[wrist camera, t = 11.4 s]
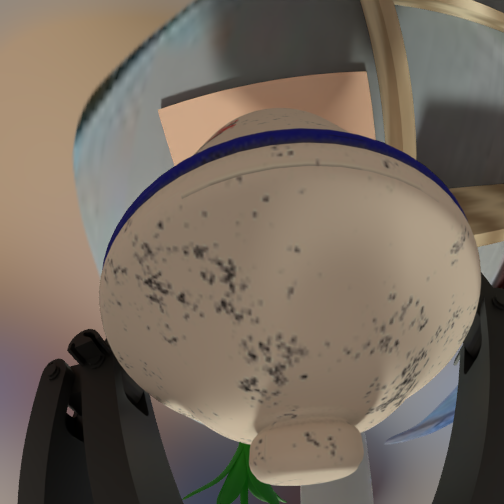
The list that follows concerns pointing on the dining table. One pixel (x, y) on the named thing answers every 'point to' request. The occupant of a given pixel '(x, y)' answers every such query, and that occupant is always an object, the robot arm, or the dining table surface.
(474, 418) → the robot arm
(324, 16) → the dining table surface
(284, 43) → the dining table surface
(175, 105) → the terracotta tile
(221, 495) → the hyacinth
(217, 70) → the dining table surface
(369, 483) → the cylinder vase
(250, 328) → the teacup with lid
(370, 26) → the frame
